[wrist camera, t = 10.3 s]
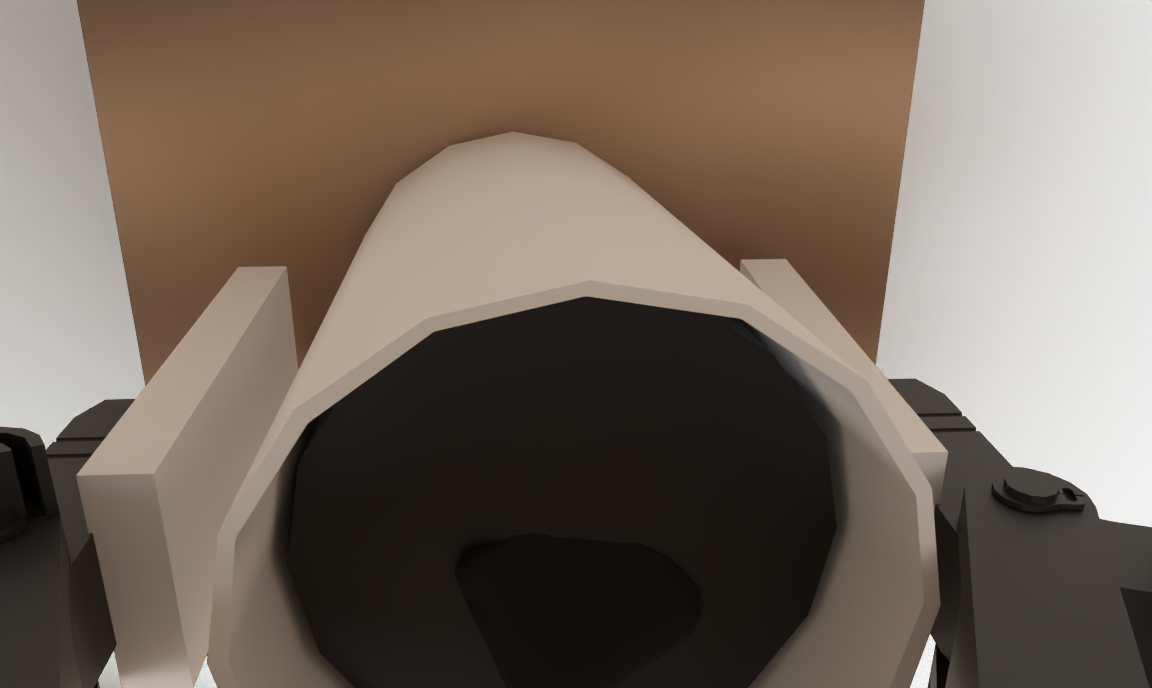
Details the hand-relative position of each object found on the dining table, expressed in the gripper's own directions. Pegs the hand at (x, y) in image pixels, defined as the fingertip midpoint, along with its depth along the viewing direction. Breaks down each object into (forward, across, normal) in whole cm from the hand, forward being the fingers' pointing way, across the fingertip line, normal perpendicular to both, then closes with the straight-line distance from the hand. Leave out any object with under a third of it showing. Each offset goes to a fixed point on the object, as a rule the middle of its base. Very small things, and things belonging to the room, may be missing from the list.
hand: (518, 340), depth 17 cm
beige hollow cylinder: (+2, 0, 0) cm, 2 cm away
